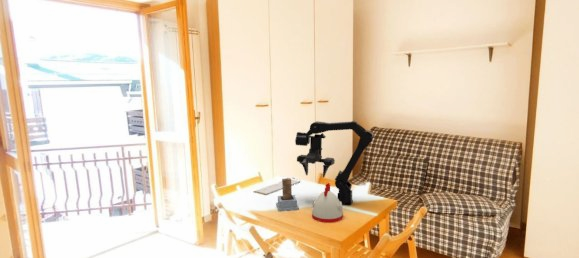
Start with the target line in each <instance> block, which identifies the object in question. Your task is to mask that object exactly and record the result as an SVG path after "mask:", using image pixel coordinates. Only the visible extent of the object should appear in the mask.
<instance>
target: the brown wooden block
mask: <svg viewBox="0 0 579 258" xmlns="http://www.w3.org/2000/svg"><path fill="white" fill-rule="evenodd" d="M291 179H292V178H291V177H288V178H281V182H282V188H283V189H282V196H283V200H292V195H293V194H292V193H293V192H292V191H293V190H292V186H291Z"/></svg>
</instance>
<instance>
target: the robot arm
mask: <svg viewBox="0 0 579 258" xmlns="http://www.w3.org/2000/svg"><path fill="white" fill-rule="evenodd" d="M344 130H345V131H347V130H352V131H353V132H354V134H356V135H357V136H358V137H359V139H358V143H357V146H356V147H355V150H354V152H353V153H352V154H351V157H350V158H349V160H348V162H347V164H346V166H345V168H344V169H343V170H339V171H338V174H337V175H336V176H335V178H334V185H335V187H336V189H338V193H337V198H338V199H339V201H340V202H342V205H347V206H352V203H354V200H353V190H351V189H352V186H353V184H352V183H351V182H350V181H349V180H350V176H351V173H352V172H353V170H354V168H355V166H356V165H357V163H358V161H359V159H360V158H361V156H362V154H363V152H364V150H366V149H367V147H368V146H369V145H370V144H371V143H372V141H373V139H374V134H373V132H372V131H371V130H368V129H366V128H364V127H363V126H362V125H361V124H359V123H358V122H357V121H355V120H352V121H339V122H338V121H337V122H325V121H314V122H312V123H310V126H309V129H308V131H307V132H301V131H298V132H296V136H295V139H294V140H295V141H294V143H295V146H301V147H302V146H303V147H304V146H305V147H307V146H308V145H309V146H310V147H309V148H308V153H307V154H299V155H298V156H297V157H296V162H298V163H299V164H300V165H301V166H302V168H303V170H304V174H305V176H308V174H309V164H313V165H314V164H316V163H322V164H323V165H322V167H323V172H322V178H325V177H326V174H327V172H328V169H329V168H330V167H331V166H333V165H334V164H335V161H336V160H335V158H334V157H329V156H328V157H325V158H323V155H322V150H323V147H322V146H323V145H322V144H323V143H322V140H323V139H326V137H327V136H326V135H325V134H324V133H325V132H329V131H344Z"/></svg>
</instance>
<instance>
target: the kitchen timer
mask: <svg viewBox="0 0 579 258" xmlns="http://www.w3.org/2000/svg"><path fill="white" fill-rule="evenodd" d="M311 218H312V219H313V220H314V221H316V222H320V223H324V224H325V223H328V224H329V223H336V222H337V223H338V222H340V221H342V220H343V218H344V211H343V204H342V202H340V201H339V199H338V195H336V194H335V193H334V192H332V191H331V183H329V182H327V183H326V184H325V188H324V190H323V191H322V192H320V193H319V195H318V196H317V197H316V198H315V199H314V202H313V203H312V210H311Z"/></svg>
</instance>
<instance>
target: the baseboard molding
mask: <svg viewBox="0 0 579 258" xmlns="http://www.w3.org/2000/svg"><path fill="white" fill-rule="evenodd" d="M287 178H289V177H287ZM290 179H291V187H292V186H294V184H295V185H298V184H300V183H301V180H299V179H298V178H297V179H296V178H295V177H291V178H290ZM297 183H298V184H297ZM282 190H283V188H282V181H279V182H277V183H273V184H270V185H268V186H265V187H262V188H259V189H256V190H253V191H252V192H253V193H256V194H260V195H265V196H268V195H270V194H273V193H276V192H280V191H282Z"/></svg>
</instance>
